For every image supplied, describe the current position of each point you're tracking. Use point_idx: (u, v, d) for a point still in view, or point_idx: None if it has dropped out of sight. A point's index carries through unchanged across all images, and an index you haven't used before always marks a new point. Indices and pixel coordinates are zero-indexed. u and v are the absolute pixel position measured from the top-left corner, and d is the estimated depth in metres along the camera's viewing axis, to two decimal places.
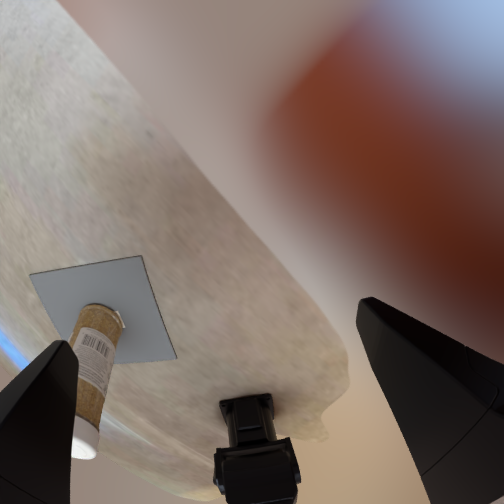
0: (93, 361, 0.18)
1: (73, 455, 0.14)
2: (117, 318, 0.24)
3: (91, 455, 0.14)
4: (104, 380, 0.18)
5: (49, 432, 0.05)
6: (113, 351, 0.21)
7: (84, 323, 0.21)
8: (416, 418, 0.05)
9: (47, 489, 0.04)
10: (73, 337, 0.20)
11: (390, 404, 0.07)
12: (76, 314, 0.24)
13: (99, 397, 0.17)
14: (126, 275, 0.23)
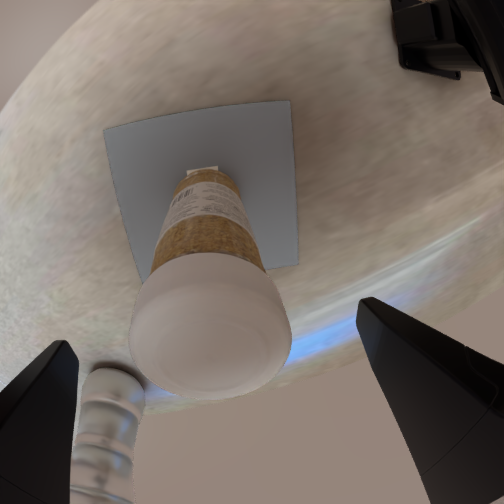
0: (169, 216, 0.13)
1: (265, 356, 0.08)
2: (193, 173, 0.18)
3: (240, 306, 0.07)
4: (197, 205, 0.12)
5: (49, 432, 0.05)
6: (205, 183, 0.15)
7: None
8: (416, 418, 0.05)
9: (47, 488, 0.04)
10: None
11: (390, 404, 0.07)
12: None
13: (193, 222, 0.10)
14: (128, 149, 0.17)
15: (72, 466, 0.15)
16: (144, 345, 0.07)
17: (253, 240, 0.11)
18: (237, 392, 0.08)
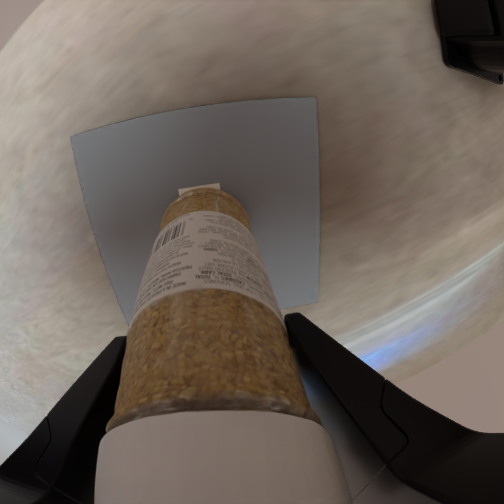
0: (149, 272, 0.08)
1: None
2: (186, 193, 0.13)
3: None
4: (190, 262, 0.07)
5: None
6: (202, 215, 0.10)
7: None
8: None
9: None
10: None
11: None
12: None
13: (183, 306, 0.06)
14: (101, 162, 0.12)
15: None
16: None
17: (280, 323, 0.07)
18: None
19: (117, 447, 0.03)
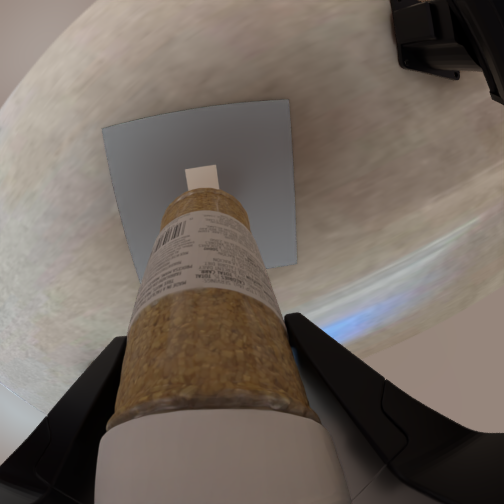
0: (149, 271, 0.08)
1: None
2: (187, 192, 0.13)
3: None
4: (190, 261, 0.07)
5: None
6: (202, 214, 0.10)
7: None
8: None
9: None
10: None
11: None
12: None
13: (184, 306, 0.06)
14: (126, 148, 0.17)
15: None
16: None
17: (280, 322, 0.07)
18: None
19: (117, 445, 0.03)
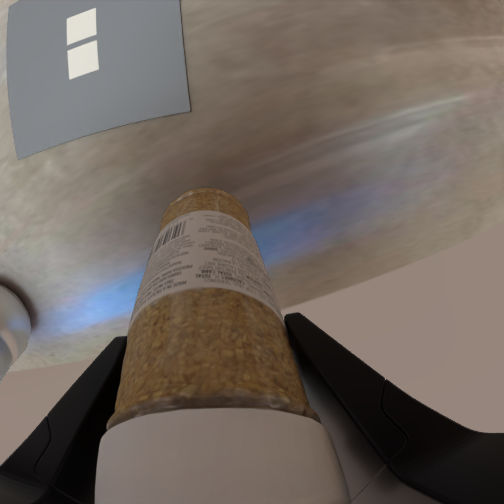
0: (149, 271, 0.08)
1: None
2: (187, 192, 0.13)
3: None
4: (190, 261, 0.07)
5: None
6: (202, 214, 0.10)
7: None
8: None
9: None
10: None
11: None
12: (68, 83, 0.12)
13: (183, 306, 0.06)
14: (23, 15, 0.09)
15: None
16: None
17: (280, 322, 0.07)
18: None
19: (118, 444, 0.03)
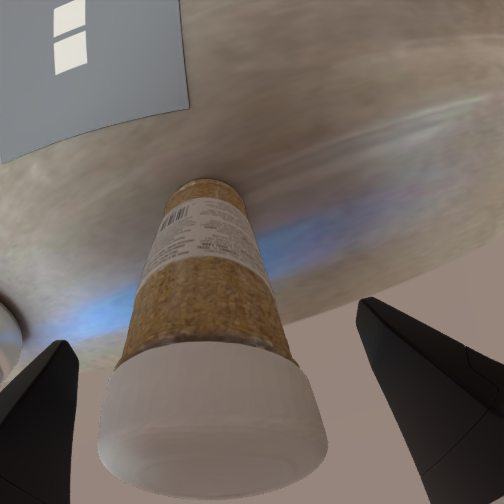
0: (156, 247, 0.09)
1: (289, 473, 0.04)
2: (189, 183, 0.14)
3: (263, 443, 0.04)
4: (192, 236, 0.09)
5: (49, 433, 0.05)
6: (204, 200, 0.12)
7: None
8: (416, 418, 0.05)
9: (47, 488, 0.04)
10: None
11: (390, 404, 0.07)
12: (54, 79, 0.11)
13: (186, 269, 0.07)
14: (9, 7, 0.07)
15: None
16: (120, 467, 0.04)
17: (269, 290, 0.08)
18: (247, 496, 0.05)
19: (125, 375, 0.04)
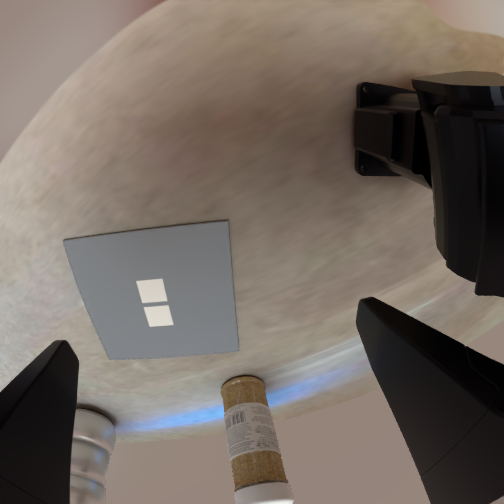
0: (235, 436, 0.21)
1: None
2: (236, 379, 0.26)
3: (280, 502, 0.15)
4: (253, 439, 0.20)
5: (49, 432, 0.05)
6: (250, 407, 0.23)
7: (224, 411, 0.25)
8: (416, 418, 0.05)
9: (47, 489, 0.04)
10: None
11: (390, 404, 0.07)
12: (149, 328, 0.22)
13: (255, 456, 0.19)
14: (85, 259, 0.19)
15: None
16: None
17: (279, 453, 0.20)
18: None
19: (248, 491, 0.16)
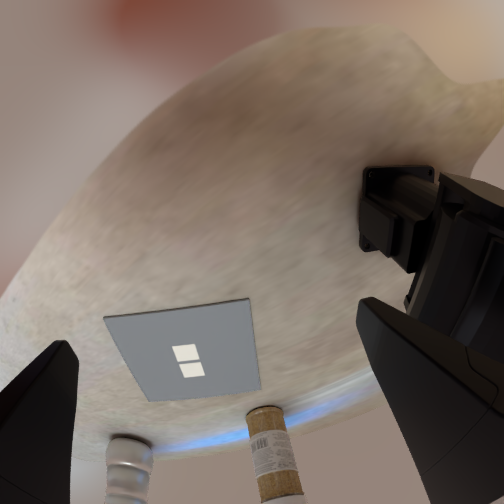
0: (260, 458, 0.24)
1: None
2: (259, 410, 0.29)
3: None
4: (274, 461, 0.24)
5: (49, 432, 0.05)
6: (271, 434, 0.27)
7: None
8: (416, 418, 0.05)
9: (47, 488, 0.04)
10: None
11: (390, 404, 0.07)
12: (183, 379, 0.26)
13: (276, 475, 0.22)
14: (125, 332, 0.22)
15: None
16: None
17: (296, 471, 0.23)
18: None
19: (272, 503, 0.19)
